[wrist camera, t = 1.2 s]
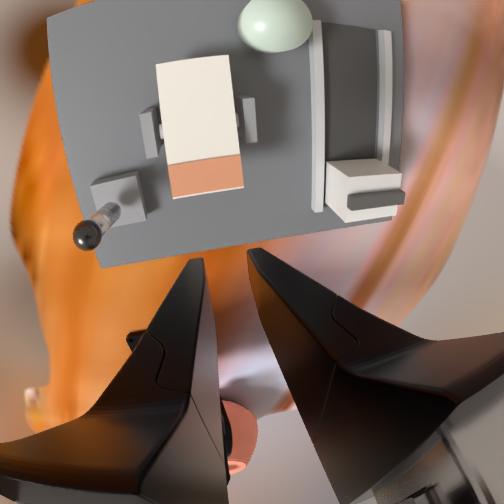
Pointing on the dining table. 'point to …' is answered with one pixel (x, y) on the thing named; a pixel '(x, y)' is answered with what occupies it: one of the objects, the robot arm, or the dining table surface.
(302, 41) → the push button
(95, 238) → the toggle lever
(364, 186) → the slide paddle
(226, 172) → the rocker switch
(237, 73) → the switch panel
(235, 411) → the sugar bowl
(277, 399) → the dining table surface
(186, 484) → the robot arm
